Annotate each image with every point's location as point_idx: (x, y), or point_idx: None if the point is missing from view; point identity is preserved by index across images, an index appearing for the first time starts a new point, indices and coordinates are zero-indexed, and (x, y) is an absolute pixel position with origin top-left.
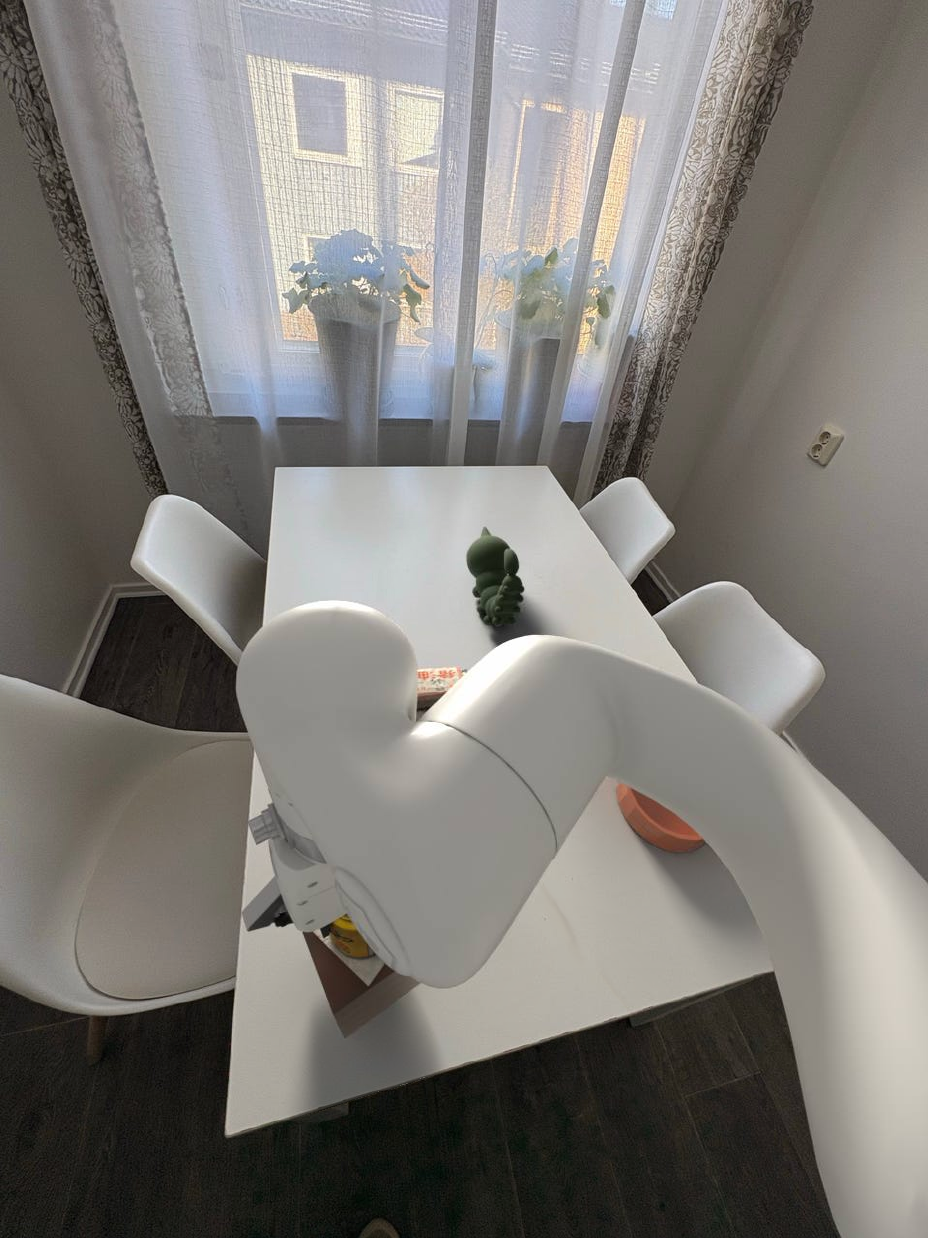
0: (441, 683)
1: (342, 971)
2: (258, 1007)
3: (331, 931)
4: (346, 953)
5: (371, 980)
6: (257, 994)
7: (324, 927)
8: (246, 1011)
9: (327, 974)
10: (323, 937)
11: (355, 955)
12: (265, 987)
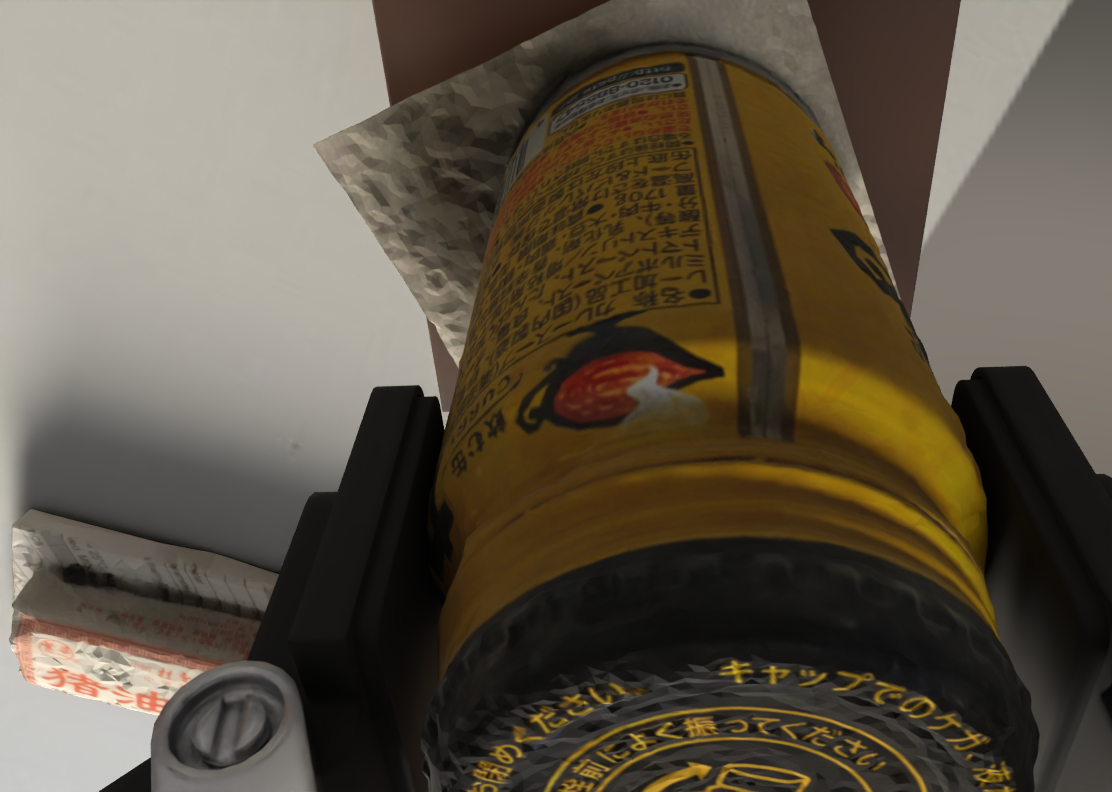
0: (99, 666)
1: (843, 50)
2: (1003, 42)
3: (968, 387)
4: (822, 134)
5: None
6: (988, 78)
7: (1093, 527)
8: (1037, 50)
9: (910, 74)
10: (1040, 387)
11: (789, 104)
12: (959, 85)
